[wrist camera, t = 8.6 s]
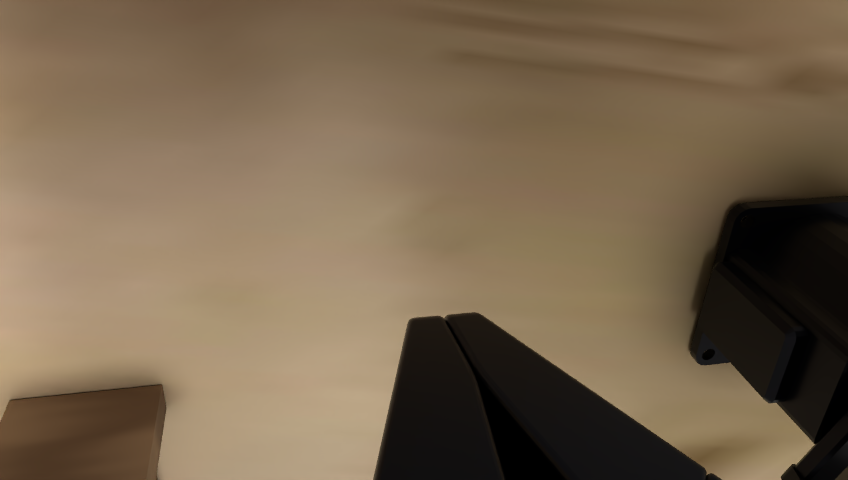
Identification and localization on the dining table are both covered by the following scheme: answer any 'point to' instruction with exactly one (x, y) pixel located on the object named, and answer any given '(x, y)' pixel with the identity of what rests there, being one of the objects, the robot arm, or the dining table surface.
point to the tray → (84, 436)
